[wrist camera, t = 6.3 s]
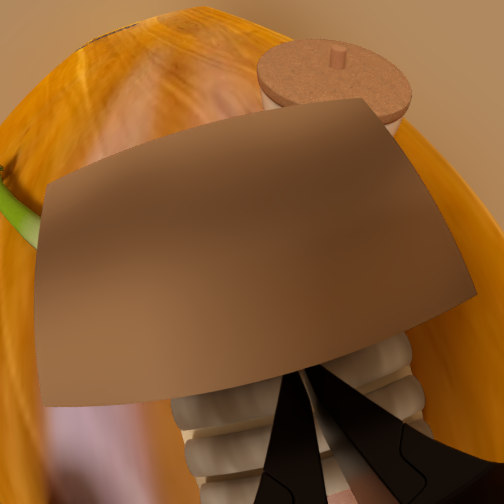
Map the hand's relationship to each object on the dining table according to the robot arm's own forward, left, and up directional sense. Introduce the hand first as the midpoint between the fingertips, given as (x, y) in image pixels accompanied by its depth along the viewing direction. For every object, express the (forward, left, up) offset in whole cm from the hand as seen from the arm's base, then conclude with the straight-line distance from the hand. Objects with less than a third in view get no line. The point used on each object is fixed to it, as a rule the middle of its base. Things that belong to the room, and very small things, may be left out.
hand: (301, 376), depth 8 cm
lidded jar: (+18, 0, -9) cm, 20 cm away
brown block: (+3, +3, -6) cm, 7 cm away
